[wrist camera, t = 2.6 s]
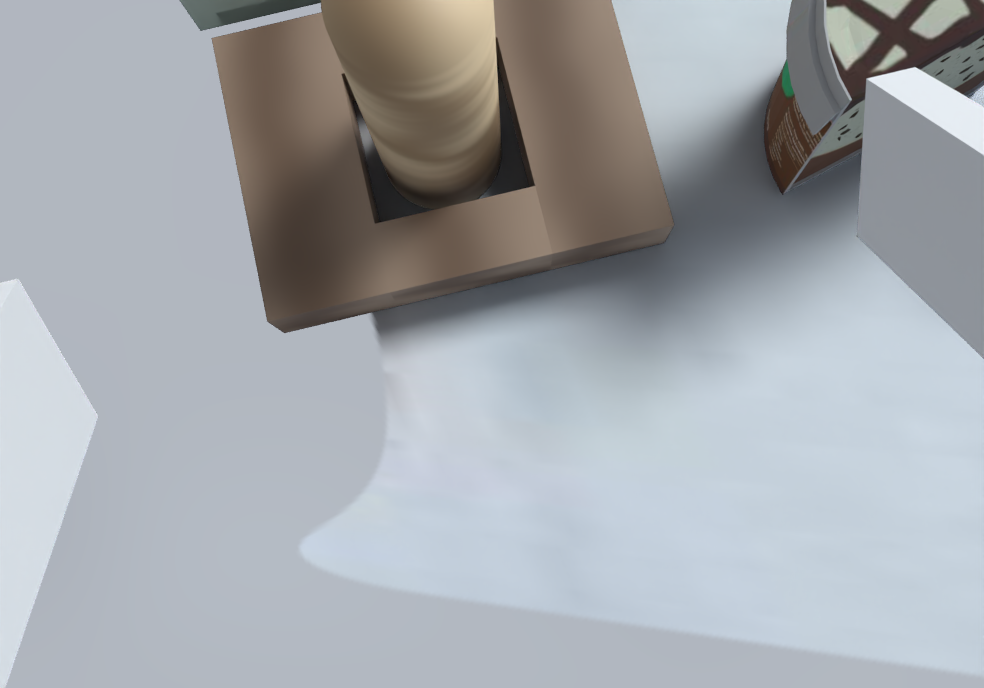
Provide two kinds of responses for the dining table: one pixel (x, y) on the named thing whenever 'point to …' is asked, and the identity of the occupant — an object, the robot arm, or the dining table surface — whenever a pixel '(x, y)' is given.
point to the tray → (236, 10)
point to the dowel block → (454, 229)
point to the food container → (859, 72)
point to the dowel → (424, 91)
